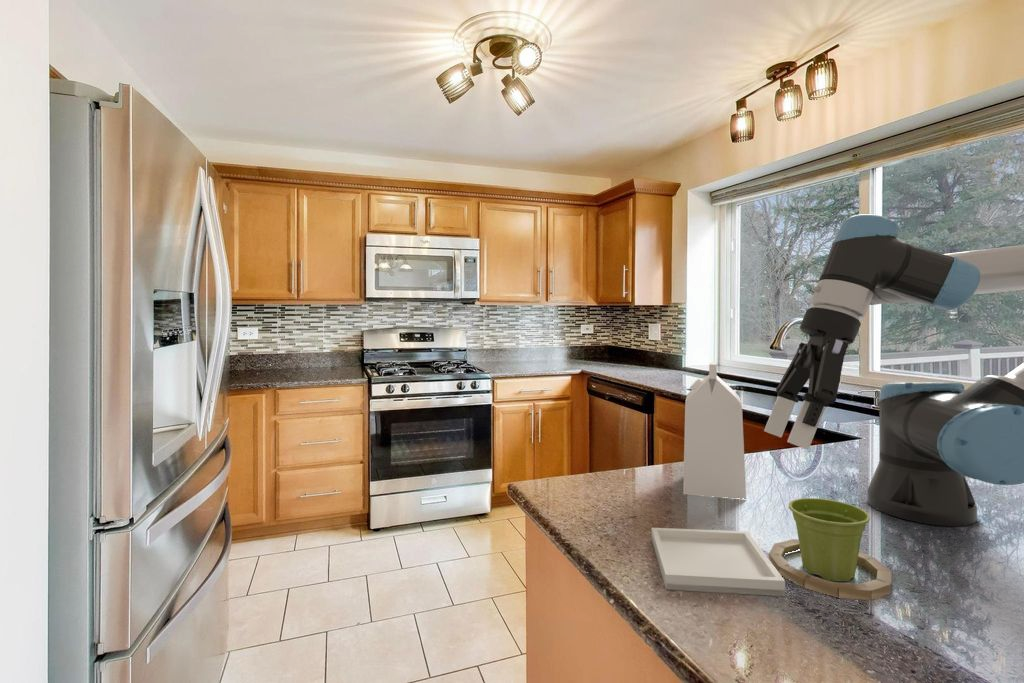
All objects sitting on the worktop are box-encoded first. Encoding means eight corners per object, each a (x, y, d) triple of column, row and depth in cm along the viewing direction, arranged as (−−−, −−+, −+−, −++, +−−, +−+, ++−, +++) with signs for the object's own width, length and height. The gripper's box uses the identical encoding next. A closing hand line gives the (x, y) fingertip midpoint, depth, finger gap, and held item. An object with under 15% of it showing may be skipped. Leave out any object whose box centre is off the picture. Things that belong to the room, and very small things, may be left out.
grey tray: (748, 544, 77) (748, 531, 77) (785, 596, 62) (785, 580, 62) (651, 539, 79) (651, 527, 79) (665, 589, 64) (665, 574, 64)
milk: (746, 500, 95) (745, 366, 93) (683, 494, 99) (682, 365, 98) (742, 481, 106) (741, 360, 105) (685, 476, 110) (684, 360, 109)
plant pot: (778, 553, 73) (778, 496, 73) (846, 556, 72) (846, 498, 72) (806, 587, 64) (806, 522, 64) (885, 591, 63) (886, 524, 63)
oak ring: (855, 549, 74) (855, 541, 74) (917, 602, 60) (917, 593, 60) (756, 545, 76) (756, 537, 76) (794, 595, 62) (794, 586, 62)
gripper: (786, 314, 90) (743, 422, 90) (840, 293, 66) (781, 440, 66) (829, 328, 88) (785, 438, 89) (902, 312, 64) (841, 463, 64)
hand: (783, 439), depth 77 cm, fingers open, 13 cm apart
